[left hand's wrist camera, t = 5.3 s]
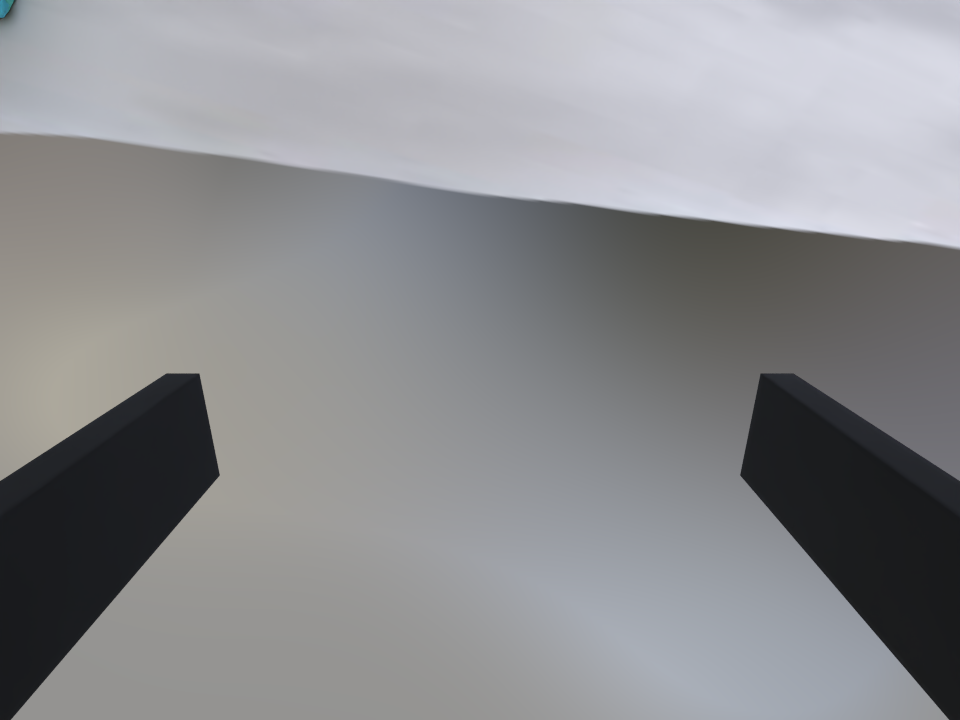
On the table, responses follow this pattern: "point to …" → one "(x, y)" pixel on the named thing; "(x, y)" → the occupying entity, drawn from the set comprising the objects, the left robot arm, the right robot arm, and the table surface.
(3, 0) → the decorative hourglass
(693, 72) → the table surface
